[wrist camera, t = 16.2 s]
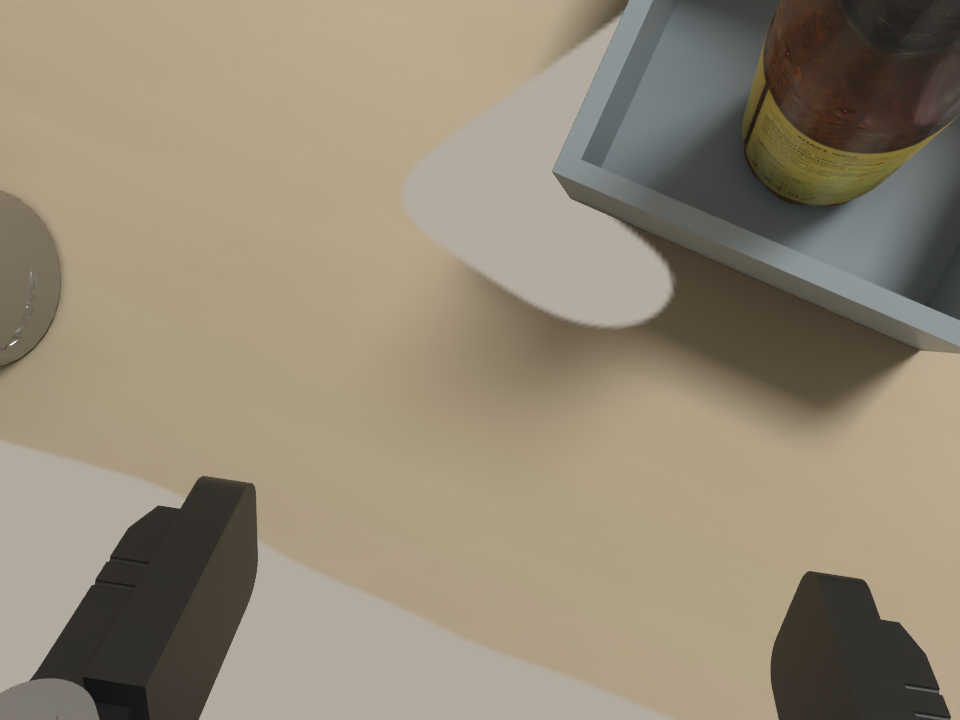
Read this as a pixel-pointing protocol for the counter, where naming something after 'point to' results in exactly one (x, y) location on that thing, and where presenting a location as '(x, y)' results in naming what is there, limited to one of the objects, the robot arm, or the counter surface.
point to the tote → (737, 192)
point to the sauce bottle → (849, 94)
